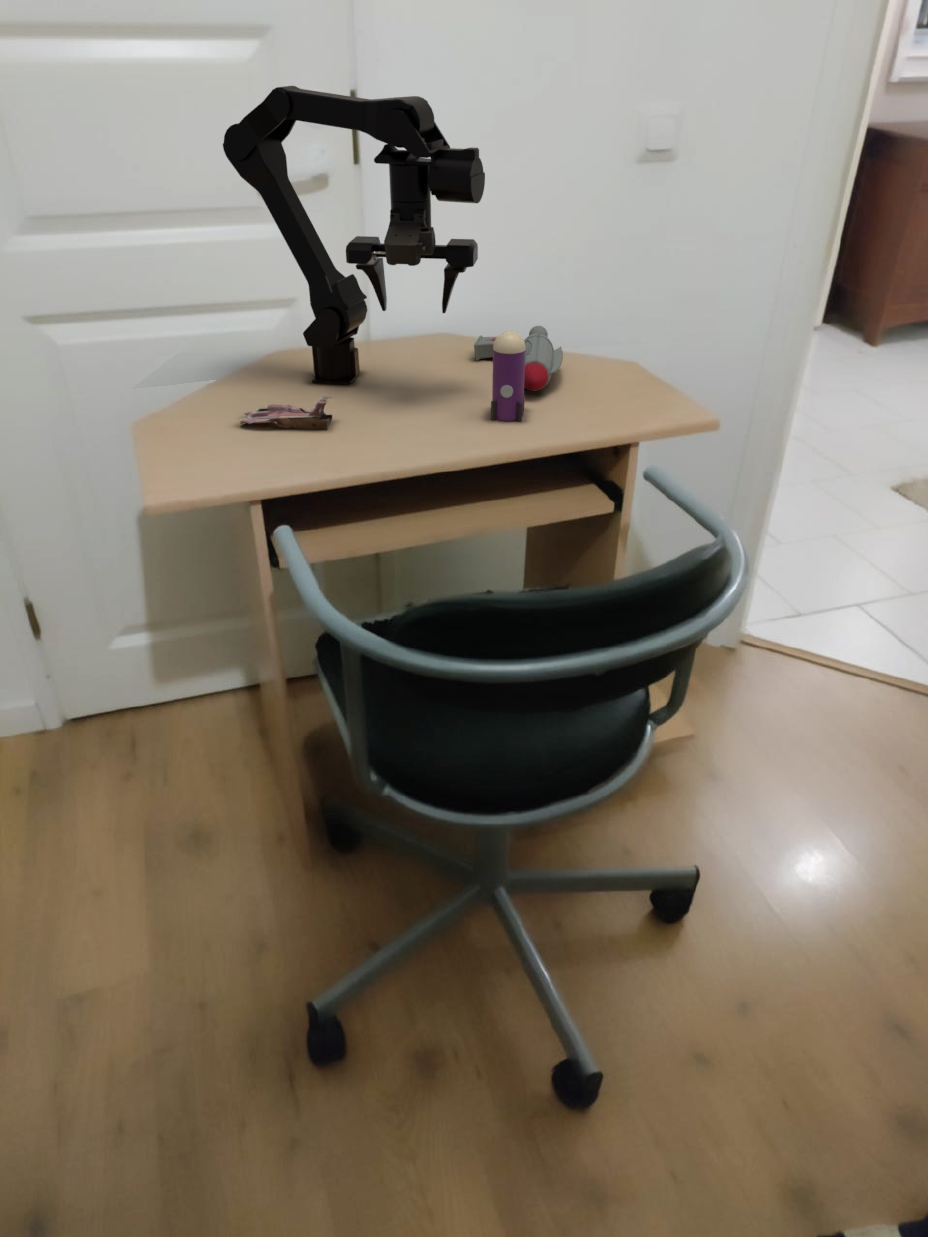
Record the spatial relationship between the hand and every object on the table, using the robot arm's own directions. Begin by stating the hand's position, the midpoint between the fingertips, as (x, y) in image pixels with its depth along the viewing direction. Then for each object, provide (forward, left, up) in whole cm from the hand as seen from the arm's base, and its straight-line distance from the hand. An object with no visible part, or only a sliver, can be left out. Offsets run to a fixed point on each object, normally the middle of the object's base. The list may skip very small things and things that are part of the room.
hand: (414, 311), depth 136 cm
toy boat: (-16, -17, -12) cm, 26 cm away
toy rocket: (+15, -9, -12) cm, 22 cm away
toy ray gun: (+15, +9, -12) cm, 21 cm away
